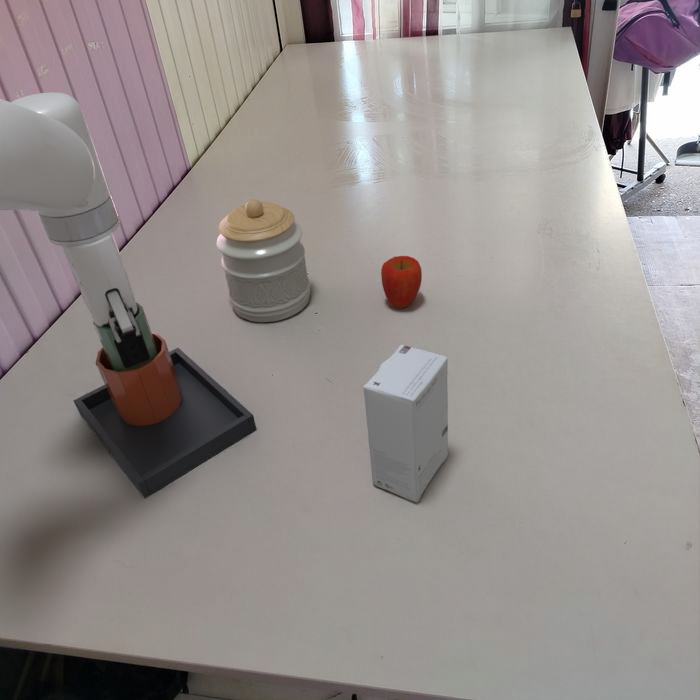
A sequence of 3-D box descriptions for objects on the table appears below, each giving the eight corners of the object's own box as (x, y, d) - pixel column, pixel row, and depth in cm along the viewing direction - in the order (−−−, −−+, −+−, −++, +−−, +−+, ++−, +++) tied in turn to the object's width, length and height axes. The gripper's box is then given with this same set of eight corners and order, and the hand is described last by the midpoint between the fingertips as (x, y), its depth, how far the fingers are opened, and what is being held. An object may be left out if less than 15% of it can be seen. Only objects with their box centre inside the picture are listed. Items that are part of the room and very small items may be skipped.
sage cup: (126, 387, 78) (105, 335, 73) (106, 366, 81) (85, 315, 76) (168, 365, 80) (151, 314, 75) (147, 345, 84) (129, 295, 79)
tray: (144, 498, 73) (138, 484, 71) (80, 414, 85) (73, 400, 84) (256, 429, 80) (253, 414, 79) (182, 361, 93) (178, 347, 91)
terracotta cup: (135, 435, 80) (113, 382, 75) (108, 403, 86) (85, 351, 80) (193, 403, 84) (176, 350, 79) (164, 374, 89) (146, 323, 84)
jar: (323, 309, 100) (309, 206, 89) (243, 333, 97) (219, 229, 86) (296, 272, 110) (281, 174, 99) (223, 292, 106) (199, 194, 95)
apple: (419, 315, 97) (419, 273, 92) (379, 313, 98) (377, 271, 93) (424, 292, 101) (423, 251, 97) (386, 291, 103) (384, 250, 98)
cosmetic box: (417, 505, 69) (414, 405, 60) (369, 485, 72) (359, 386, 63) (449, 453, 74) (451, 355, 65) (404, 436, 77) (399, 339, 68)
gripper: (31, 200, 73) (85, 326, 84) (59, 261, 61) (117, 399, 72) (97, 182, 75) (140, 307, 87) (136, 236, 63) (180, 374, 74)
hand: (129, 347), depth 79 cm, fingers closed on sage cup, 5 cm apart
